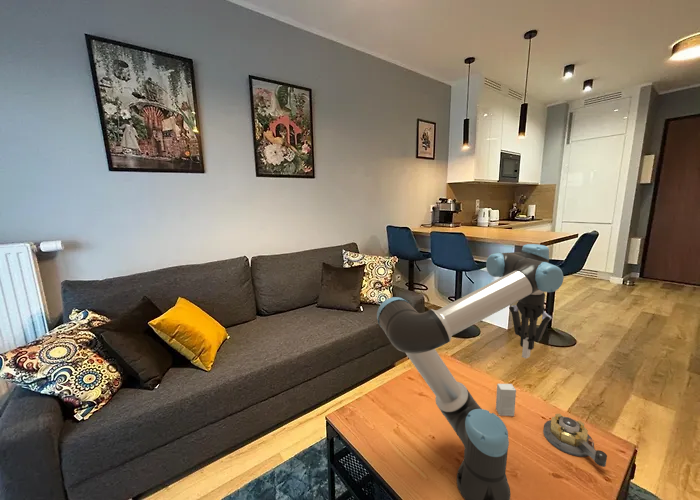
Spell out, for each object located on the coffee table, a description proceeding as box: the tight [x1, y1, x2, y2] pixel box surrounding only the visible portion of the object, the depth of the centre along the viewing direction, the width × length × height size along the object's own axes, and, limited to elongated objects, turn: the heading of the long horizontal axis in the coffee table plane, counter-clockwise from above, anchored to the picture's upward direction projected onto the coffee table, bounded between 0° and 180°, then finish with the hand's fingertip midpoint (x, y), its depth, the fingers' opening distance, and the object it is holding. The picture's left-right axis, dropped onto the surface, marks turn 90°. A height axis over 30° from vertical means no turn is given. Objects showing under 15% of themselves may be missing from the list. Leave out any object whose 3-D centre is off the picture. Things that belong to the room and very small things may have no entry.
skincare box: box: [495, 383, 517, 417], centre depth 124 cm, size 6×4×12 cm
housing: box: [542, 416, 595, 458], centre depth 110 cm, size 15×15×8 cm
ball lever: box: [550, 413, 608, 468], centre depth 106 cm, size 19×11×4 cm, turn 7°
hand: (525, 356), depth 104 cm, fingers closed
